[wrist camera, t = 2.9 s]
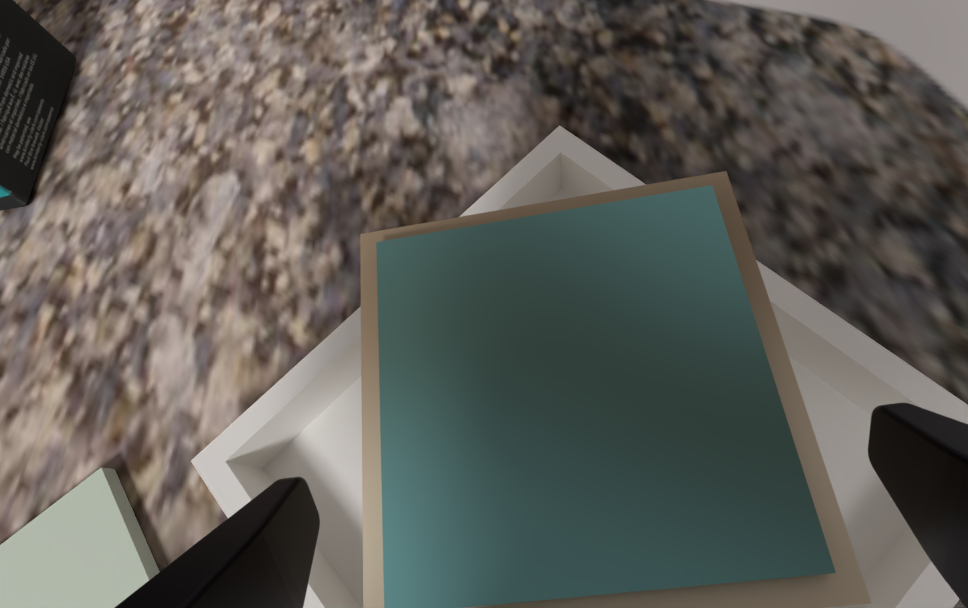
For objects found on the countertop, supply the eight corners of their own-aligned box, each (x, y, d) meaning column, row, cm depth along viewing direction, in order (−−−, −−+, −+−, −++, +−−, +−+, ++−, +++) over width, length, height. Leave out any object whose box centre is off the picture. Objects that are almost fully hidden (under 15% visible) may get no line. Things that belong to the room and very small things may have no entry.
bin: (985, 476, 15) (1058, 467, 13) (592, 983, 12) (595, 1085, 10) (561, 169, 21) (559, 125, 19) (238, 469, 19) (190, 460, 16)
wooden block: (676, 552, 15) (882, 606, 5) (500, 570, 16) (356, 651, 5) (639, 379, 17) (729, 161, 7) (483, 400, 18) (355, 226, 7)
